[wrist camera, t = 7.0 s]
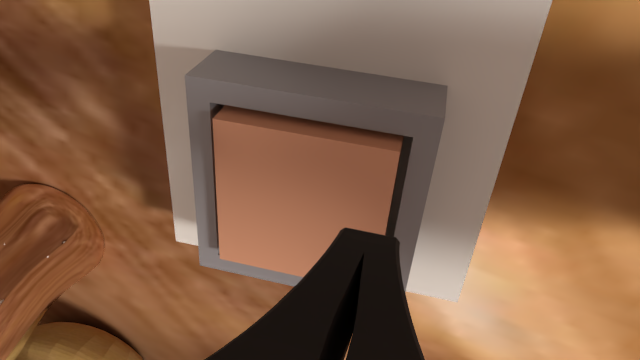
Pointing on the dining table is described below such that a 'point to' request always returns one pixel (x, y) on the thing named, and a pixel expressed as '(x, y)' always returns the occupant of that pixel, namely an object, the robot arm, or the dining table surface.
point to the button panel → (354, 105)
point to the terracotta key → (297, 186)
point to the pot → (74, 344)
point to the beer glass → (40, 257)
